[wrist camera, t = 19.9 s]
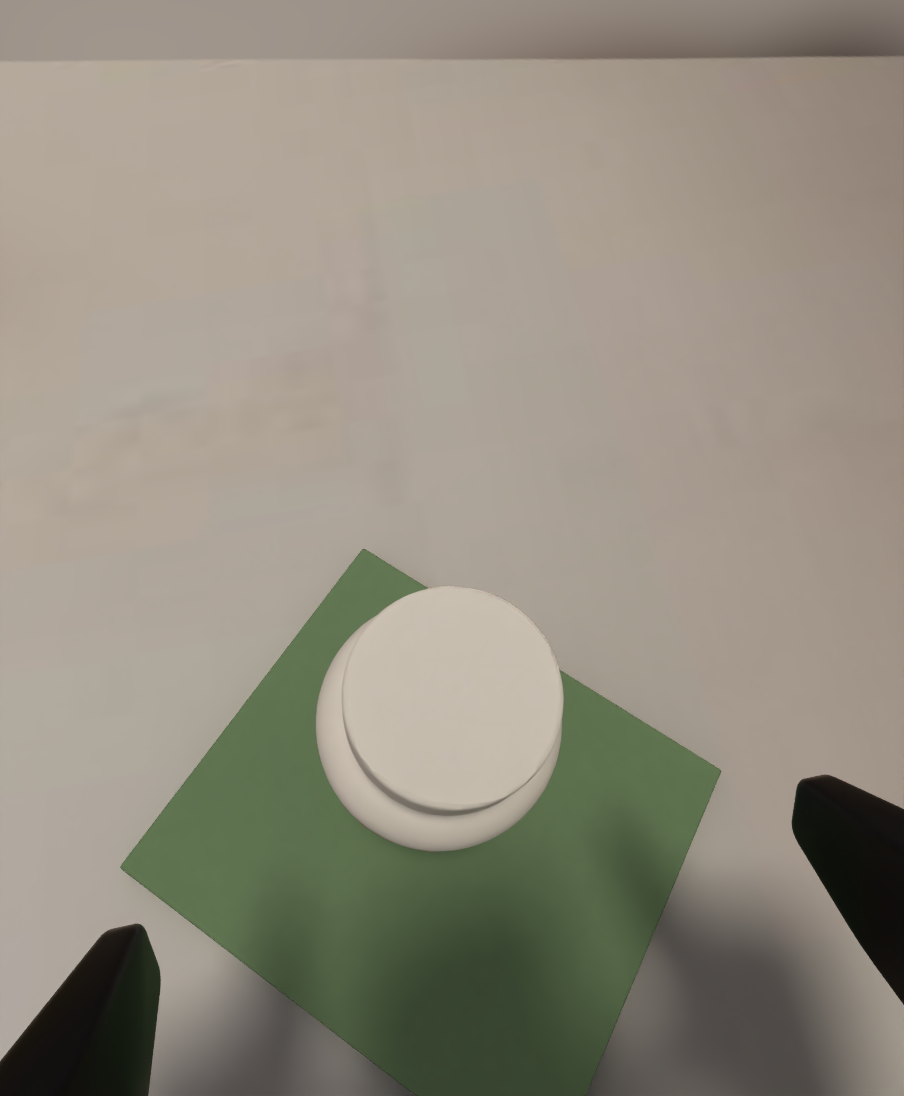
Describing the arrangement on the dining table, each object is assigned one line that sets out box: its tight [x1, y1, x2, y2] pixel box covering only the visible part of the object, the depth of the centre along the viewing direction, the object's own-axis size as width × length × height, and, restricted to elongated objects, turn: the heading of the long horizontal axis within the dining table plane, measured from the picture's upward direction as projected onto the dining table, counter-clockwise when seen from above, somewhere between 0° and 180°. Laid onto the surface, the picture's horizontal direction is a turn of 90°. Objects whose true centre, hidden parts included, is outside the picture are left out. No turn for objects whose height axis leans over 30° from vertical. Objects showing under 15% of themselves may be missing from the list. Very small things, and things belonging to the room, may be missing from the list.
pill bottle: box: [316, 586, 564, 852], centre depth 16 cm, size 6×5×10 cm
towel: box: [120, 549, 721, 1096], centre depth 20 cm, size 14×12×1 cm
